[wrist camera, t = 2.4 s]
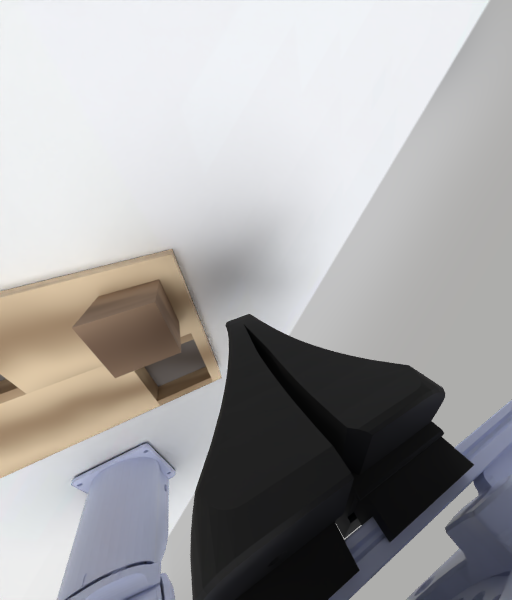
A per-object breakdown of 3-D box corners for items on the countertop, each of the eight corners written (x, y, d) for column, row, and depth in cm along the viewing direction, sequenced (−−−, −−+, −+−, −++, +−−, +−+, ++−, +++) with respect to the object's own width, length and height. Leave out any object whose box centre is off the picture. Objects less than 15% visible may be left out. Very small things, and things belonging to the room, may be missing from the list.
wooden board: (217, 364, 22) (225, 388, 19) (-119, 510, 15) (-191, 584, 12) (172, 249, 15) (172, 258, 12) (-516, 418, 8) (-936, 546, 5)
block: (179, 321, 16) (181, 352, 12) (128, 339, 15) (115, 378, 11) (159, 279, 14) (155, 301, 10) (98, 296, 13) (71, 327, 9)
